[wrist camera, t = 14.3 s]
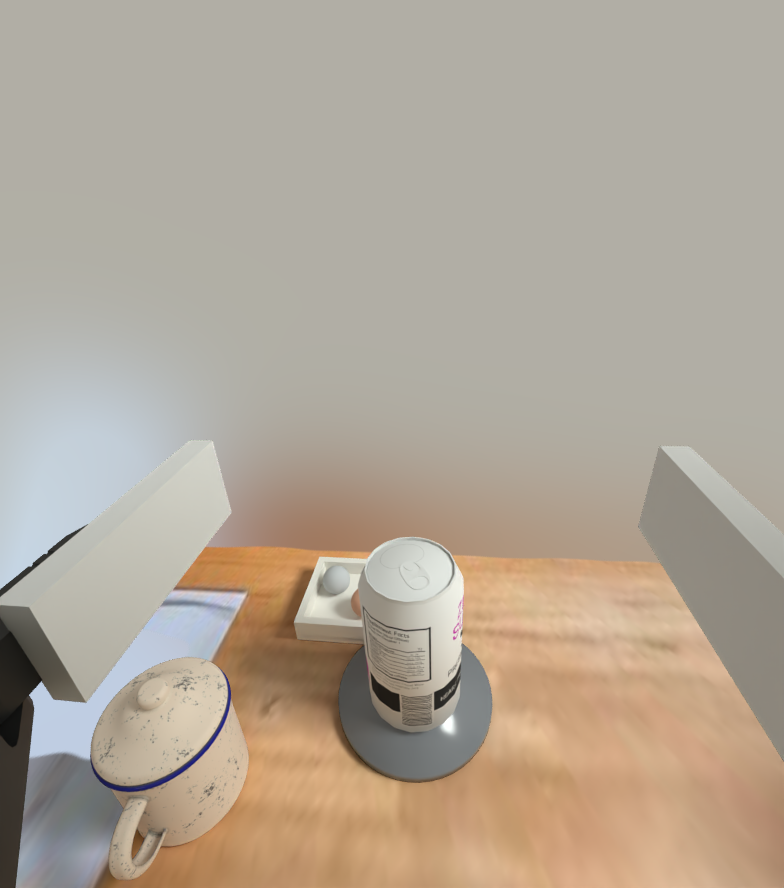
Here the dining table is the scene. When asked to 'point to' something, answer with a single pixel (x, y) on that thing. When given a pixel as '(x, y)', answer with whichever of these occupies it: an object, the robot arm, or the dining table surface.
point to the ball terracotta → (356, 603)
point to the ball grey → (336, 579)
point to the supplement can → (412, 632)
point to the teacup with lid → (169, 758)
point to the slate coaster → (416, 750)
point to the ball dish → (330, 606)
